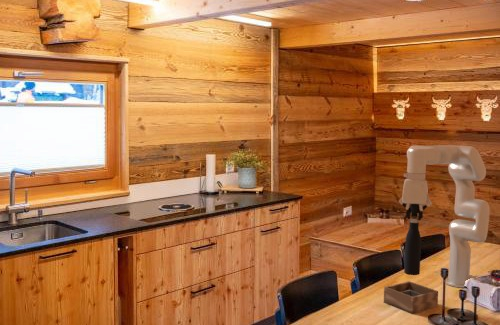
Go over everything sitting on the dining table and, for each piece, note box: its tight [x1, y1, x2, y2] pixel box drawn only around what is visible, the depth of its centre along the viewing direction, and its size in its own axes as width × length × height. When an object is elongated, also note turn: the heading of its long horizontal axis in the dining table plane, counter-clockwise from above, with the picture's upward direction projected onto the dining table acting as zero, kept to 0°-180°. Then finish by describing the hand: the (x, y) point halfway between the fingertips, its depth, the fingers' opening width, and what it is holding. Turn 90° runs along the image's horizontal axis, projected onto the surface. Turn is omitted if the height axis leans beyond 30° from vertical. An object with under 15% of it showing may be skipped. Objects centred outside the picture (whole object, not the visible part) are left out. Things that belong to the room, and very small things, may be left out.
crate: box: [383, 280, 439, 315], centre depth 250 cm, size 16×16×7 cm
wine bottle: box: [403, 204, 422, 276], centre depth 248 cm, size 6×6×30 cm
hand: (414, 218), depth 247 cm, fingers closed on wine bottle, 3 cm apart
